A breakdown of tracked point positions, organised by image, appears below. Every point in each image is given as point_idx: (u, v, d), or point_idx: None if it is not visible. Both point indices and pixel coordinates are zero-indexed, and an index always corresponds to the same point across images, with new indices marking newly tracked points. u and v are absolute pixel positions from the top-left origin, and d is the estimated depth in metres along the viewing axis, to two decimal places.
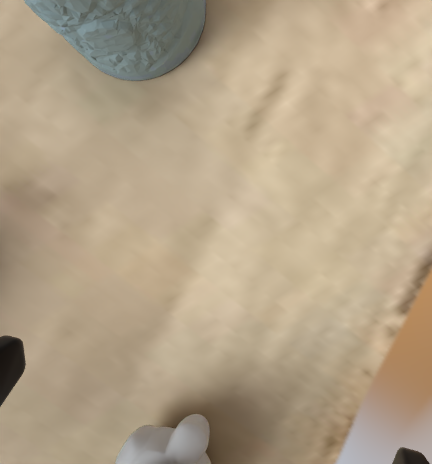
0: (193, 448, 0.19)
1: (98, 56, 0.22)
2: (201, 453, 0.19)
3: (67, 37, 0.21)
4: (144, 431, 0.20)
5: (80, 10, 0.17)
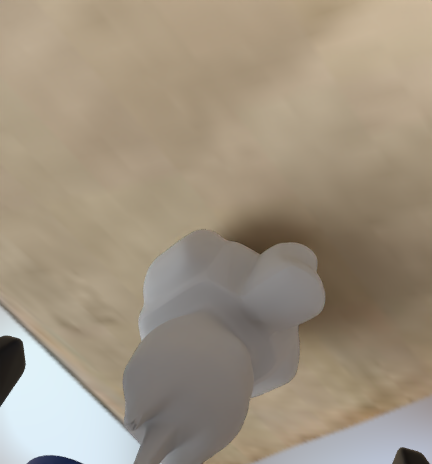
0: (298, 312, 0.10)
1: None
2: None
3: None
4: (208, 244, 0.11)
5: None
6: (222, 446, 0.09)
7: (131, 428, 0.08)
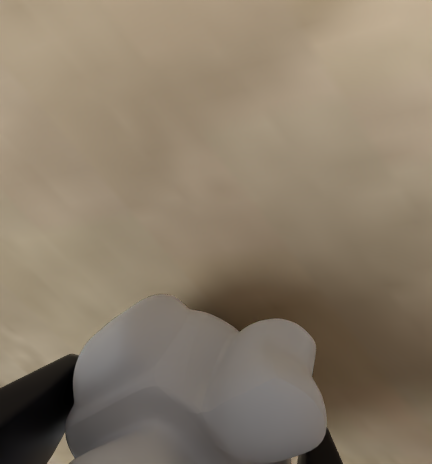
0: (285, 448, 0.06)
1: None
2: (298, 454, 0.07)
3: None
4: (159, 325, 0.08)
5: None
6: None
7: None
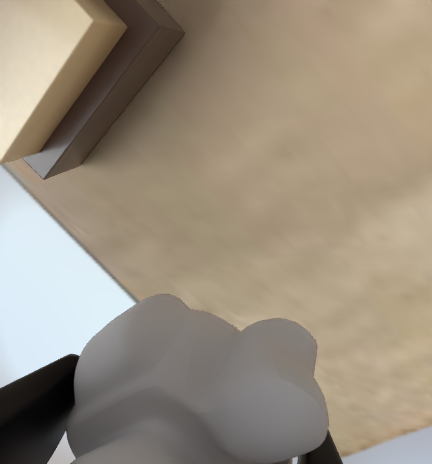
0: (287, 448, 0.06)
1: None
2: (299, 454, 0.07)
3: None
4: (161, 325, 0.08)
5: None
6: None
7: None
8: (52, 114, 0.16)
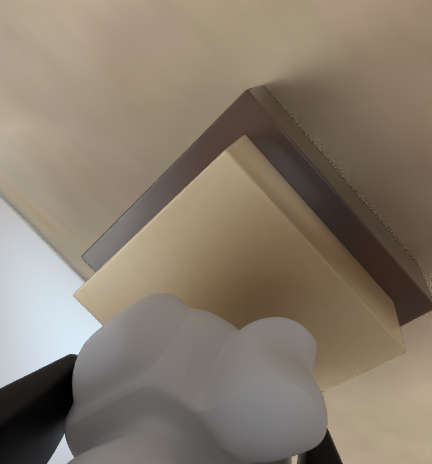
0: (285, 447, 0.06)
1: None
2: (298, 453, 0.07)
3: None
4: (160, 324, 0.08)
5: None
6: None
7: None
8: None
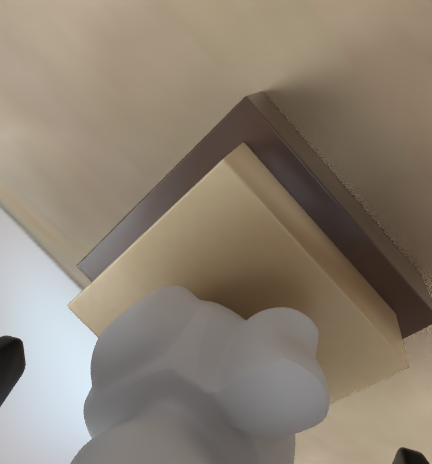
0: (291, 423, 0.07)
1: None
2: (302, 430, 0.07)
3: None
4: (173, 313, 0.08)
5: None
6: None
7: None
8: None
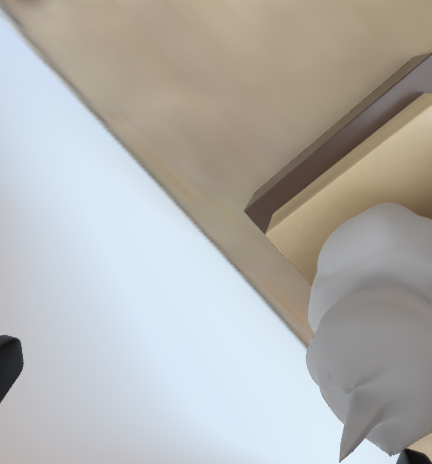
0: None
1: None
2: None
3: None
4: (403, 216, 0.10)
5: None
6: None
7: (344, 390, 0.08)
8: None
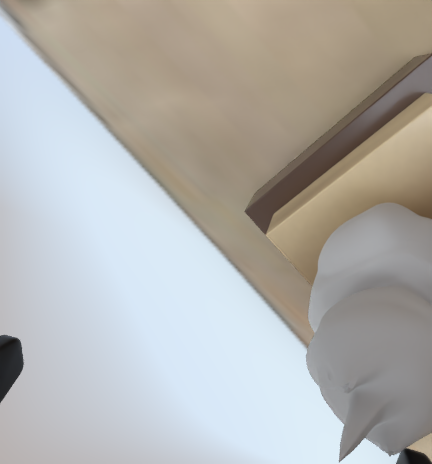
0: None
1: None
2: None
3: None
4: (404, 216, 0.10)
5: None
6: None
7: (344, 390, 0.08)
8: None
